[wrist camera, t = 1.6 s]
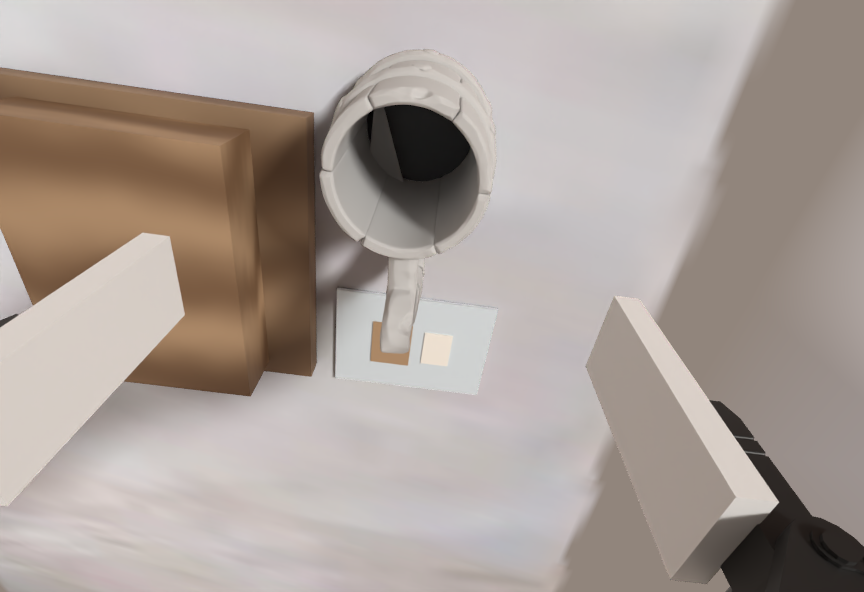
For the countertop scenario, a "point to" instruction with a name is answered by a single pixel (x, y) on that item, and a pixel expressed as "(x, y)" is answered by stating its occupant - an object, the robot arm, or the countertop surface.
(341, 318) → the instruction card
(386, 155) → the mug
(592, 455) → the countertop surface
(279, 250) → the plinth
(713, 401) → the robot arm
